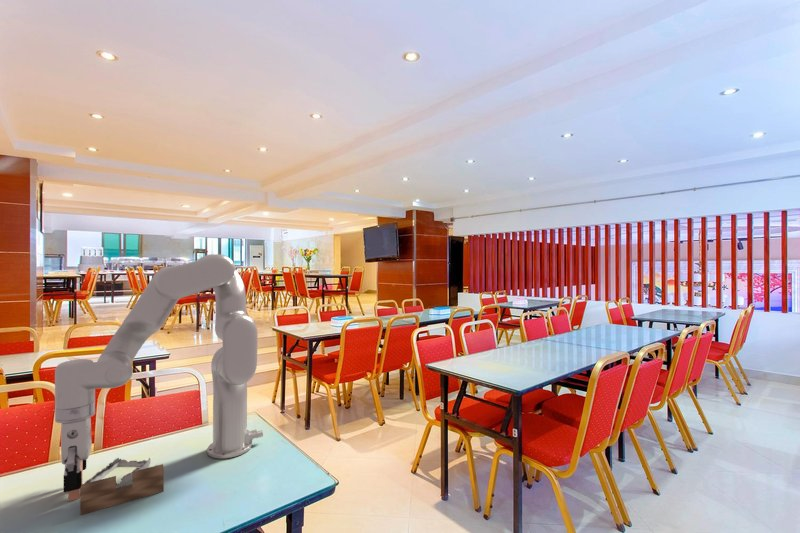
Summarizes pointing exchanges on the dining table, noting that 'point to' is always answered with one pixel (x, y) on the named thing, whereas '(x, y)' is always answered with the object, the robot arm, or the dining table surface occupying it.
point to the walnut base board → (121, 489)
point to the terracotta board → (76, 493)
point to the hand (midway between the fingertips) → (75, 479)
